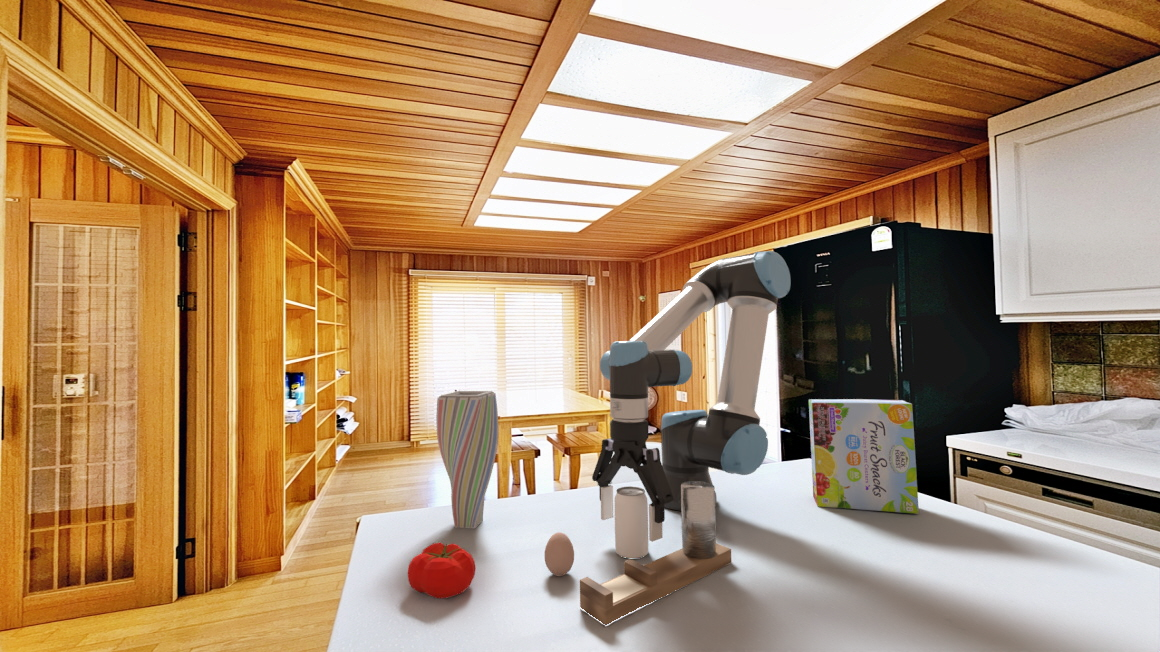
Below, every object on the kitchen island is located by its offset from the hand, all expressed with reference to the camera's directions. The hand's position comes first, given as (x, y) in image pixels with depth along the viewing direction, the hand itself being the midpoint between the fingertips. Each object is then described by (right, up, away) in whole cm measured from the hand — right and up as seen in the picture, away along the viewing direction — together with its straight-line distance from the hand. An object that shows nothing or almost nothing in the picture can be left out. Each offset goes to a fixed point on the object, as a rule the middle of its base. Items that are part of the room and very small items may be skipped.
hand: (630, 528), depth 93 cm
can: (0, -5, 0) cm, 5 cm away
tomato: (-33, -5, -12) cm, 36 cm away
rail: (+4, -4, -12) cm, 14 cm away
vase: (-35, -6, +16) cm, 40 cm away
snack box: (+59, -5, +24) cm, 64 cm away
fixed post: (+12, -2, -6) cm, 14 cm away
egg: (-13, -5, -8) cm, 17 cm away
